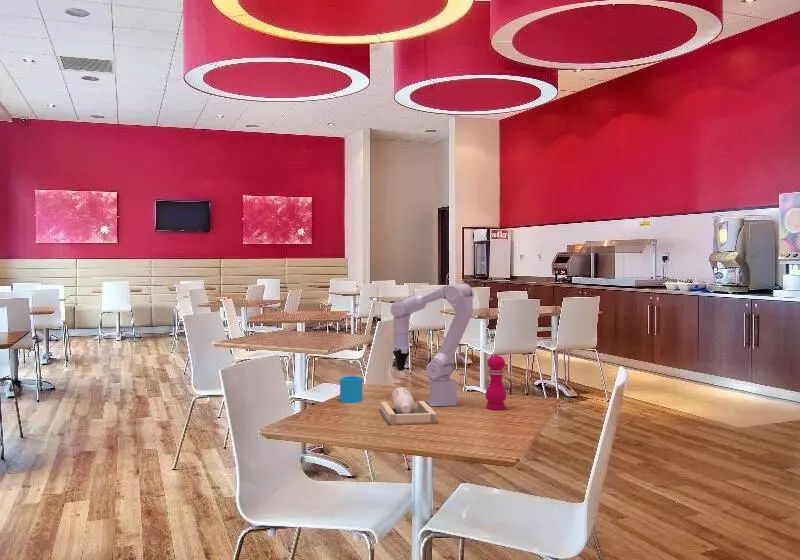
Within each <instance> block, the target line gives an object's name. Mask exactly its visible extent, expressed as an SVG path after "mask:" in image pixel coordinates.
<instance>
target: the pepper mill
mask: <svg viewBox="0 0 800 560" xmlns="http://www.w3.org/2000/svg"><path fill="white" fill-rule="evenodd" d="M493 354H494V355H492V356H490V357H489V358H488V359H487V366H488V367H489V369H488V371H489V372H488V374H489V375H490V378H489V379H490V380H489V384H488V386H487V388H486V391H485V396H484V397H485V399H486V400H487V402H486V409H488V410H493V411H502V410H505V408H506V404H505V402H504V401H505V400H506V399H507V392H506V389H505V387H504V384H503V374H504V368H505V365H506V360H505V358H504V357H502V356H501V355H500V352H499V350H495V351H494V352H493Z"/></svg>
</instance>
